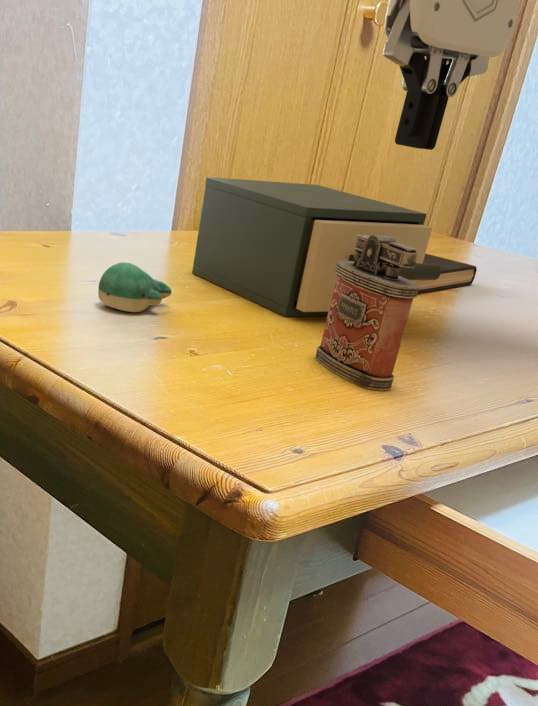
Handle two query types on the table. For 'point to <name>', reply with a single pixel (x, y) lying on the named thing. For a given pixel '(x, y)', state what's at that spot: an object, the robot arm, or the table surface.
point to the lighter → (369, 312)
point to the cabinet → (272, 235)
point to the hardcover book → (447, 274)
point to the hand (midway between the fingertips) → (413, 146)
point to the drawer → (352, 255)
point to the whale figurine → (130, 288)
